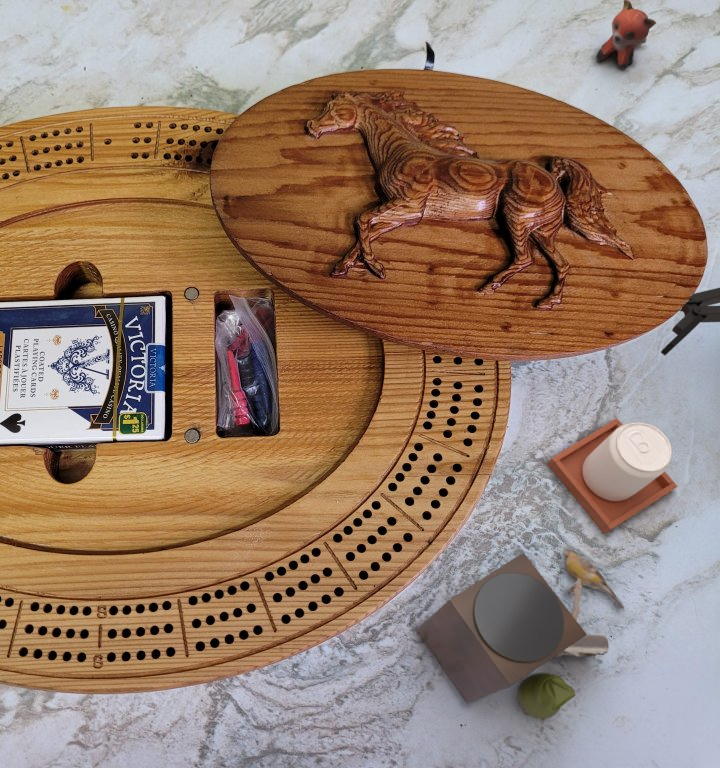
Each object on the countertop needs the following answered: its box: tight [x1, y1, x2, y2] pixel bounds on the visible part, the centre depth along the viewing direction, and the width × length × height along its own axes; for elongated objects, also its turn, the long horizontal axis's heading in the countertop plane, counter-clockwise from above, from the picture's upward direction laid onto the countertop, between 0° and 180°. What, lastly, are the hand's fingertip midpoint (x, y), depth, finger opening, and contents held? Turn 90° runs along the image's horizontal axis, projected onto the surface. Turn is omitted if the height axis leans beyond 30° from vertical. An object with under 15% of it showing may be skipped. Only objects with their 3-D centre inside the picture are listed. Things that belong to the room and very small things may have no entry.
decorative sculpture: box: [555, 548, 625, 658], centre depth 110 cm, size 16×10×7 cm, turn 154°
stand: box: [416, 552, 588, 704], centre depth 103 cm, size 11×11×20 cm
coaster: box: [473, 573, 564, 662], centre depth 94 cm, size 10×10×1 cm
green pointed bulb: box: [517, 672, 576, 720], centre depth 105 cm, size 6×5×10 cm
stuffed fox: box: [595, 0, 657, 70], centre depth 154 cm, size 8×11×12 cm
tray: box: [546, 417, 678, 535], centre depth 121 cm, size 13×13×2 cm
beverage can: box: [582, 422, 673, 501], centre depth 117 cm, size 8×8×12 cm
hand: (710, 383), depth 108 cm, fingers open, 13 cm apart
